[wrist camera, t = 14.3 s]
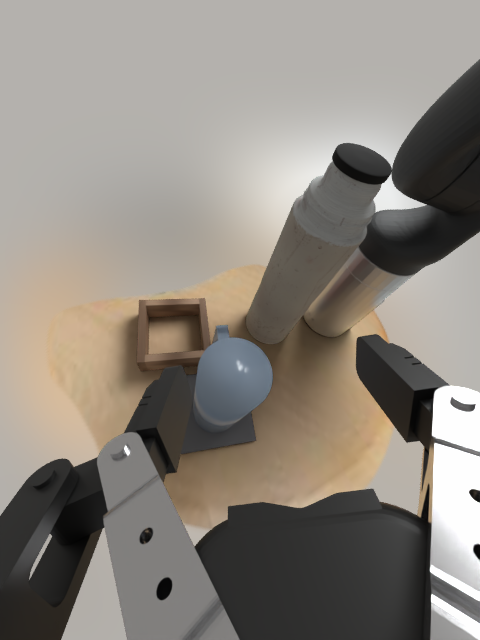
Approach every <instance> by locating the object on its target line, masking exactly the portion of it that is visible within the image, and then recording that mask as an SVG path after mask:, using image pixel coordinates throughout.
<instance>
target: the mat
mask: <svg viewBox="0 0 480 640" xmlns="http://www.w3.org/2000/svg"><path fill="white" fill-rule="evenodd" d="M186 377H187V380H188V383H189V386H190V389H191V393H192V407H191V411H190V415H189V420H188V424H187V428H186V433H185V437H184V441H183V446H182V450H181V454H185V453H190V452H196V451H201V450H207V449H212V448H218V447H223V446H229V445H234V444H240V443H245V442H251V441H256V437H255V431H254V425H253V420H252V414H251V412H249V413H248V414H247V415H245V416H244V417H243V418H242V419H240V420H239V421H238V422H236V423H235V424H234V425H233V426H231V427H230V428H229V429H227V430H226V431H224V432H221V433H209V432H206V431H204V430H203V429H201V428H200V427H199V426H198V425H197V423H196V422H195V419H194V417H193V409H192V408H193V400H194V392H195V385H196V377H197V374H194V375H186Z"/></svg>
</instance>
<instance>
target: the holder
mask: <svg viewBox="0 0 480 640" xmlns="http://www.w3.org/2000/svg"><path fill="white" fill-rule="evenodd" d="M189 315H198V316H199V326H200V336H201V346H202V350H200V351H188V352H175V353H163V354H150V355H148V349H149V317H166V316H189ZM210 345H211V344H210V335H209V327H208V318H207V310H206V301H205V298H201V299H165V300H139V316H138V342H137V364H138V366H139V368H140V370H141V371H147V370H157V369H164V368H167V367H173V366H179V365H181V366H182V367H189V366H198V364H199V361H200V358H201V356H202V354H203V353H204V351H205V350H206V349H207V348H208V347H209V346H210Z"/></svg>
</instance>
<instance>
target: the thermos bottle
mask: <svg viewBox="0 0 480 640" xmlns="http://www.w3.org/2000/svg"><path fill="white" fill-rule="evenodd" d="M332 159H333V162H332V163H330V165H329V166H328V168H327V171H326V173H325V174H324V175H323V176H319V177H316V178H315V179H313V180H312V181H311V183H310V185H309V187H308V188H307V189H306V191H305V192H304V195H301V196H300V197H298V198H297V199H296V201H295V202H294V204H293V206H292V208H291V211H290V214H289V216H288V218H287V220H286V223H285V225H284V228H283V230H282V232H281V235H280V237H279V240H278V242H277V245H276V247H275V249H274V252H273V254H272V256H271V259H270V262H269V264H268V266H267V268H266V271H265V273H264V276H263V278H262V281H261V284H260V286H259V289H258V291H257V293H256V295H255V297H254V299H253V302H252V304H251V307H250V309H249V311H248V314H247V317H246V326H247V329H248V331H249V333H250V334H251V335H252V336H253V337H254V338H255V339H256V340H258V341H260V342H262V343H266V344H276V343H279V342H281V341H282V340H284V339H285V337H286V336H287V335H288V334H289V333H290V331H291V330H292V329H293V328H294V326H295V325H296V324H297V323H298V321H299V320H300V319H301V318H302V316H303V315H304V314H305V313H306V311H307V310H308V308H309V307H310V305H311V304H312V302H313V301H314V300H315V299H316V298H317V297H318V296H319V295H320V294H321V293H322V291H323V290H324V289H325V288H326V286H327V285H328V284H329V283H330V281H331V280H332V279H333V278H334V276H335V275H336V274H337V273H338V271H339V270H340V269H341V268H342V266H343V265H344V264H345V263H346V261H347V260H348V259H349V258H350V256H351V255H352V254H353V253H354V251H355V250H356V249H357V248H358V246H359V245H360V244H361V243H362V241H363V240H364V239H365V237H366V234H367V225H368V224H369V223H370V222H371V219H372V217H373V215H374V213H375V204H374V201H373V199H374V197H375V196H376V195H377V193H378V192H379V190H380V188H381V184H382V183H384V182H385V181H386V180H387V178H388V177H389V176H390V174H391V172H392V168H391V166H390V164H389V163H388V162H387V160H386V159H385V158H383V157H382V156H381V155H379V154H378V153H376V152H375V151H373V150H371V149H369V148H366V147H364V146H361V145H357V144H351V143H343V144H340V145H338V146H337V148H336V150H335V152H334V154H333V156H332Z"/></svg>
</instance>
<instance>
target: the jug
mask: <svg viewBox="0 0 480 640" xmlns="http://www.w3.org/2000/svg"><path fill="white" fill-rule="evenodd" d="M272 381H273V373H272V367H271V364H270V362H269V359H268V358H267V356H266V355H265V353H264V352H263V351H262V350H261V349H260V348H259V347H258V346H257V345H255V344H254V343H252V342H250V341H248V340H245V339H241V338H229V331H228V325H220V326H216V329H215V334H214V338H213V343H212V345H210V346H209V347H208V348H207V349H206V350H205V351H204V353H203V354H202V356H201V358H200V361H199V364H198V369H197V377H196V385H195V392H194V400H193V408H192V409H193V417H194V419H195V422H196V423H197V425H198V426H199V427H200V428H201V429H203V430H204V431H206V432H209V433H221V432H224V431H226V430H227V429H229V428H230V427H231V426H233V425H234V424H235V423H236V422H238V421H239V420H240V419H242V418H243V417H244V416H245V415H247V414H248V413H249V412H251V411H252V410H253V409H254V408H256V407H257V406H258V405H260V404H261V403H262V402H263V401H264V400H265V398H266V397H267V396H268V394H269V392H270V389H271V386H272Z"/></svg>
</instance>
